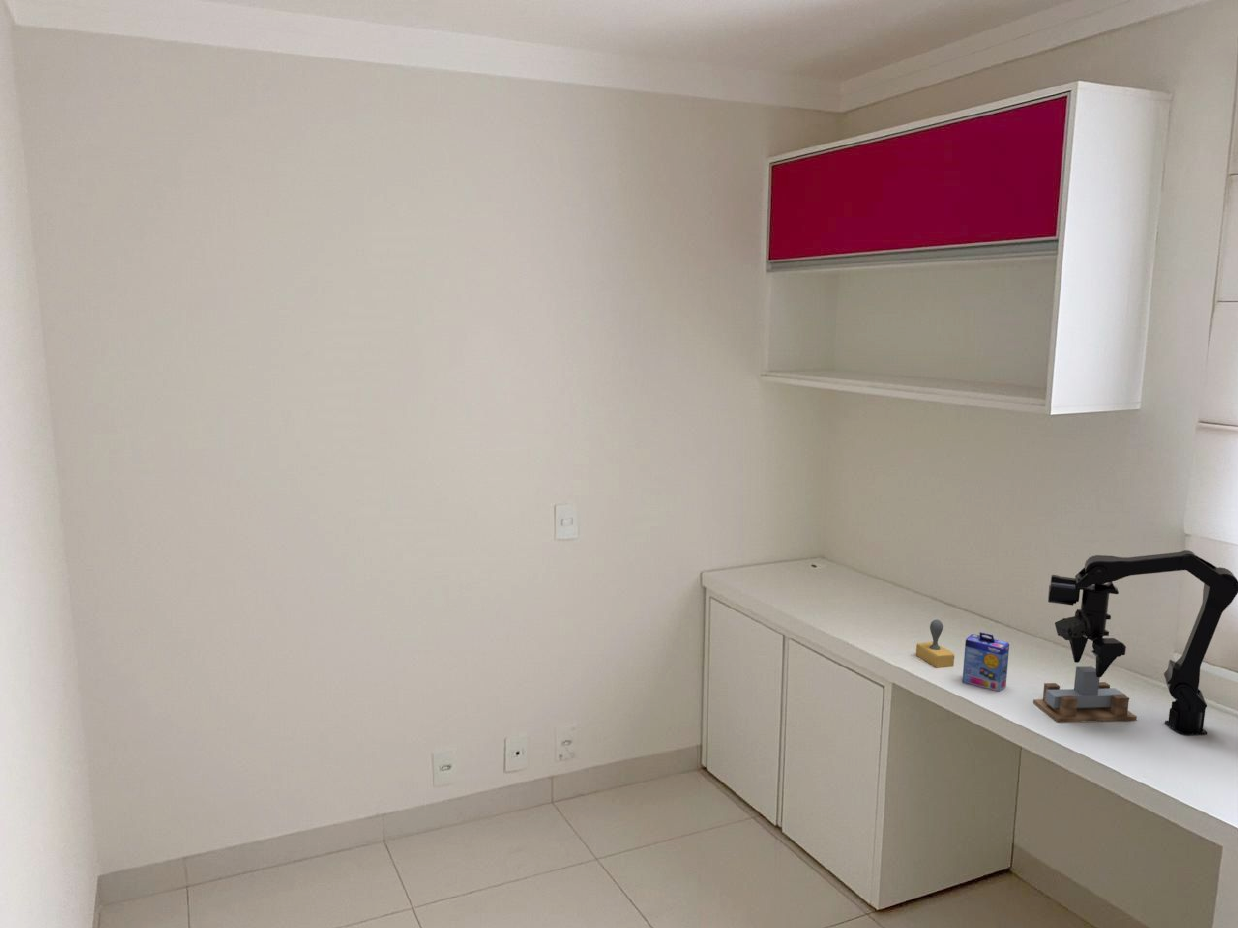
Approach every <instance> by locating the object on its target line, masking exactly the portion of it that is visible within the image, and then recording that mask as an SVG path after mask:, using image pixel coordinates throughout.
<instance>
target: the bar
mask: <svg viewBox="0 0 1238 928" xmlns="http://www.w3.org/2000/svg"><path fill="white" fill-rule="evenodd" d="M1100 678H1101V677H1096V667H1094V666H1092V665H1091V666H1085V665H1084V666H1082V665H1081V666H1076V667H1075V676H1074V685H1073V688H1071V689H1070V688H1068V689H1060V690H1046V696H1045V702H1046V703H1048V704H1049V705H1050V706H1052V707H1053V708H1060V700H1061V696H1074V697H1075V698H1077V708H1087V707H1111V700H1112V695H1122V694H1124V695H1125V696H1127V695H1126V694H1125V693H1123V692H1122V691H1120V690H1118V689H1117V688H1111V687H1110V689H1098V687H1099V682H1100Z"/></svg>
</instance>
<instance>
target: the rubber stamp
mask: <svg viewBox="0 0 1238 928" xmlns="http://www.w3.org/2000/svg"><path fill="white" fill-rule="evenodd" d="M929 630H930V634H931V636H932V637H931V638H932V641H925V642H917V643H916V645H915V646H916V648H915V655H916V656H917V657H918V658H920V659H921V660H922V661H925V662H927V663H928V664H929V665H932V666H933V667H934V668H936V669H939V668H940V669H941V668H950V667H954V663H955V653H954V652H952V651H951V650H949V649H947V648H945V647H943V646H942V645H940V644H938V643H939V639H940V636H942V635H941V634H942V633H943V631H944V623H943V622H942V621H941V620H940V619H933V620H932V621H931V623H930V625H929Z"/></svg>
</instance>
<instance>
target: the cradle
mask: <svg viewBox="0 0 1238 928" xmlns="http://www.w3.org/2000/svg"><path fill="white" fill-rule="evenodd" d="M1110 688H1111V685H1110V684H1109V683H1107V682H1106V681H1099V687H1098V689H1110ZM1046 690H1061V686H1060V685H1059V684H1058V683H1056V682H1050V683H1048V682H1046V683H1045V682H1044V683H1043V692H1042V698H1036V699H1035V698H1034V699H1033V700H1032V703H1033V705H1035V706H1036V707H1037V708H1039V709H1040V711H1042V710H1043V711H1042V712H1044V713H1045V714H1046V715H1047V716H1048V715H1049V718H1051V717H1052V718H1051V719H1052V720H1053V719H1054V720H1053V721H1055V722H1056V723H1082V722H1081V721H1097V722H1122V721H1123V722H1129V721H1130V722H1131V721H1134V720H1136V721H1137V716H1136V714H1134V713H1132V712H1131V711H1129V710H1128V708H1129V702H1130V701H1129V700H1130V698H1129V697H1128V696H1127V695H1126V694H1125V693H1123V694H1122V695H1112V700H1111V707H1087V708H1077V698H1075V697H1074V696H1061V700H1060V708H1053V707H1052V706H1050V705H1049V704H1048V703H1046V702H1045V696H1046ZM1124 694H1125V695H1126V696H1125V695H1124ZM1134 722H1135V721H1134Z"/></svg>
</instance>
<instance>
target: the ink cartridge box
mask: <svg viewBox="0 0 1238 928" xmlns="http://www.w3.org/2000/svg"><path fill="white" fill-rule="evenodd" d="M978 633H979V635H978V634H975V633H973V634H971V635H969V636H968V637H966V639H965V644H964V645H965V646H964V658H963V670H962V681H961V682H962V683H964V684H969V685H972V686H976V687H979V688H984V689H986V690H990V691H993V692H997V693H998V692H1001V691H1002V690H1003V689H1004V688H1006V686H1007V674H1008V664H1009V663H1008V661H1009V649H1010V643H1009V642H1008V641H1005V640H1001V639H996V638H995V636H994V635H993V634H989V633H985V632H981V631H980V632H978Z"/></svg>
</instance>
